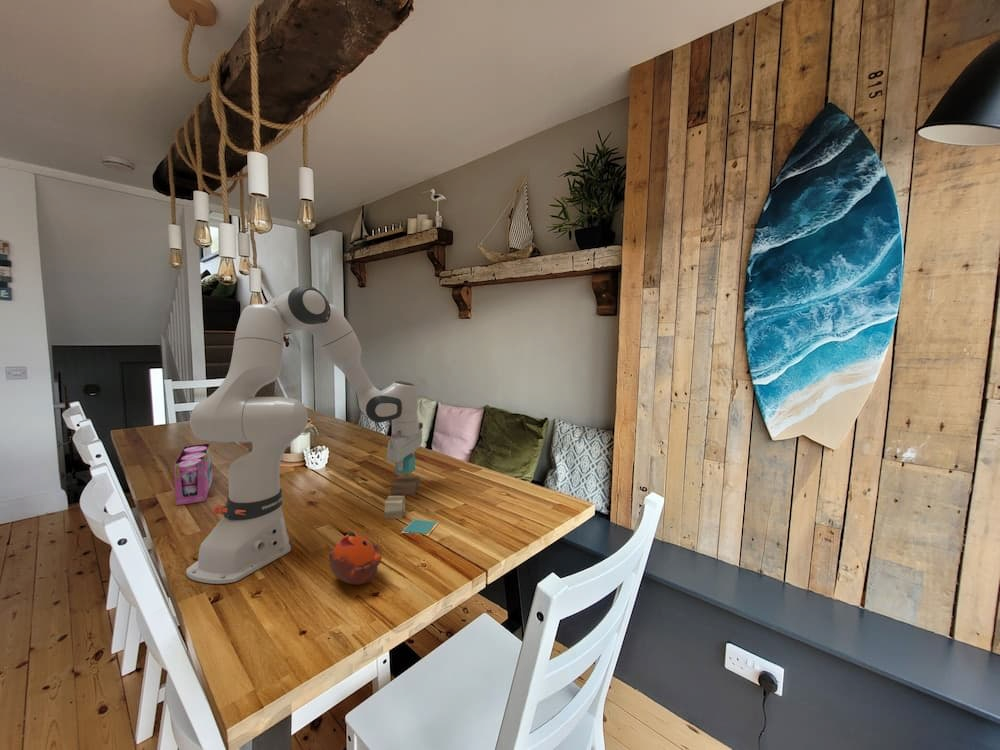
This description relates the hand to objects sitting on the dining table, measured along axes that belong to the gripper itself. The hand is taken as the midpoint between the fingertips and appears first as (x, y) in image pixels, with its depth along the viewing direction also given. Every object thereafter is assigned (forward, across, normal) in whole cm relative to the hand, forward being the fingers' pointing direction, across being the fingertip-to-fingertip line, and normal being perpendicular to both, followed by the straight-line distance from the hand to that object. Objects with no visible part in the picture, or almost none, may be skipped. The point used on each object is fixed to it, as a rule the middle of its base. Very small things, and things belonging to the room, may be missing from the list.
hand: (405, 466), depth 143 cm
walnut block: (+9, 0, 0) cm, 9 cm away
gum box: (+9, -19, +68) cm, 71 cm away
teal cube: (+2, 0, 0) cm, 2 cm away
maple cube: (+8, -18, -5) cm, 21 cm away
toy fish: (+8, -50, -12) cm, 52 cm away
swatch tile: (+8, -24, -16) cm, 30 cm away
